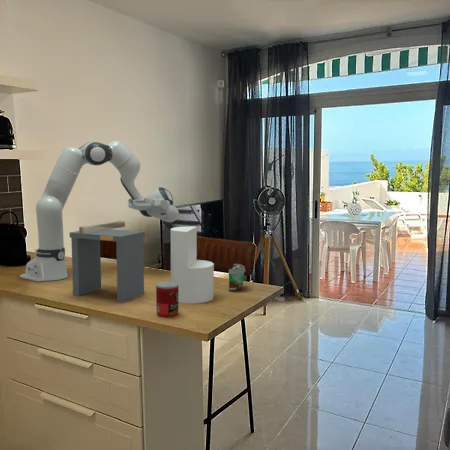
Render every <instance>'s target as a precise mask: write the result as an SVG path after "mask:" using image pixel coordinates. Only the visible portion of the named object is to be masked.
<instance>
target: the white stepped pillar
mask: <svg viewBox="0 0 450 450" xmlns="http://www.w3.org/2000/svg"><path fill="white" fill-rule="evenodd" d="M197 233H198V232H197V226H196V225H195V226H176V227H172V228H170V282H176V283H178V303H180V304H193V305H194V304H203V303H207V302H210V301H212V300H214V298H215V297H214V296H215V295H214V290H215V289H214V286H215V285H214V281H215V278H214V277H215V276H214V275H215V274H214V272H215V271H214V269H215V263H213V262H212V261H209V260H202V259H197V255H198V253H197V252H198V250H197V248H198V247H197V245H198V243H197V242H198V241H197V240H198V239H197V238H198V236H197V235H198V234H197Z"/></svg>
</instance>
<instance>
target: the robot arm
mask: <svg viewBox="0 0 450 450" xmlns="http://www.w3.org/2000/svg"><path fill="white" fill-rule="evenodd" d="M108 162H109V163H111V164H112V166H114V167H115V168H116V170H117V171H118V172H119V174H120V180H119V181H120V183H121V184H122V186H123V188H124V189H125V191H126V192H127V194H128V196H130V198H128V199H127V207H128V208H129V209H133V210H136V211H139V212H140V214H141V215H142V216H143V217H146V218H147V217H148V218H151V217H153V218H155V219H159V220H161V221H164V222H166V223H174V222H175V221H176V220H177V219H178V217H179V216H180V212H179V209H178V208H177V207H176V206H175V205H174V198H173V195H172V193H171V191H169V190H168V189H167V188H164V187H161V186H159V187H158V188H156V189H155V190H153V191H152V192H151V193H149V194H148V195H147V196H145V197H143V195H142V194H141V193H140V191H139V190H138V189H137V187H136V186H135V180H136V178H137V176H138V175H139V174H140V170H141V161H140V160H139V158H138V157H137V156H136V154H135V153H133V152H132V151H131V149H129V148H128V147H127V146H126V145H125V144H124V143H123V142H121V141H119V140H113V141H111V142H109V143H108V144H104V143H102V142H99V141H88V142H86V143H84V144H83V145H81V146H79V148H78V147H75V146H67V147H65V148H64V150H63V151H62V152H61V154H60V155H59V157H58V158H57V160H56V163H55V165H54V167H53V169H52V171H51V173H50V176H49V177H48V181H47V183H46V185H45V188H44V190H43V192H42V195H41V197H40V199H39V200H38V201H37V202H36V207H35V211H36V212H35V213H36V223H37V225H36V226H37V237H38V248H37V249H34V250H33V251H34V253H36V254H35V256H34V257H33V259H31V260H30V261H29V262H27V263H26V265H25V273H22V274H20V276H19V277H20V278H22V279H25V280H30V281H33V282H46V281H47V282H48V281H58V280H63V279H67V278H69V273H68V269H67V263H66V258H65V256H66V248H65V247H64V245H65V243H64V242H65V241H64V224H63V210H64V207H65V205H66V203H67V202H68V198H69V196H70V195H71V193H72V190H73V188H74V186H75V183H76V180H77V178H78V176H79V174H80V172H81V169H82V168H83V166H85V165H86V164H88V165H91V166H101V165H103V164H106V163H108Z"/></svg>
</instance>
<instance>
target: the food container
mask: <svg viewBox="0 0 450 450" xmlns="http://www.w3.org/2000/svg"><path fill="white" fill-rule="evenodd" d="M245 272H246V268H245V266H244V265H242V264H241V263H233V266H232V267H231V268H228V292H229V293H230V292H232V293H233V292H240V291H242V290H243V289H244V288H243V287H244V277H245V276H244V275H245Z"/></svg>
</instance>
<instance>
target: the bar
mask: <svg viewBox="0 0 450 450" xmlns="http://www.w3.org/2000/svg"><path fill="white" fill-rule="evenodd" d="M121 228H126V221H125V220H117V221H110V222H109V221H108V222H104V223H98V224H97V223H96V224H90V225H84V226H78V231H79V233H82V234H87V233H93V232H98V231H104V230H110V229H114V230H116V229H121Z"/></svg>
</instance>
